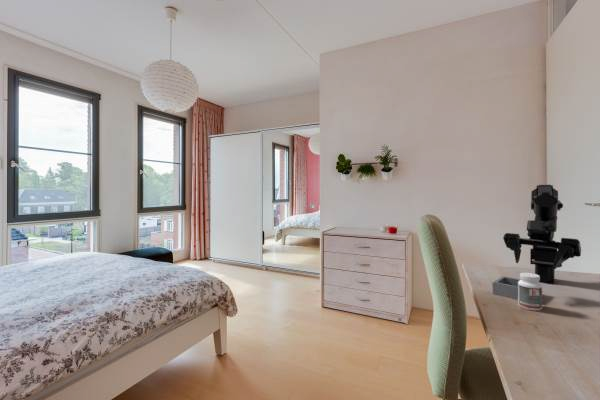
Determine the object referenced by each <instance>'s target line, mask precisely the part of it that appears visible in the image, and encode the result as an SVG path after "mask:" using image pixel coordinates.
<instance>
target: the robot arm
mask: <svg viewBox="0 0 600 400" xmlns="http://www.w3.org/2000/svg"><path fill="white" fill-rule="evenodd" d="M530 196H531V197H530V199H531V200H530V210H531V211H533V214H534V220H532V219H529V220H527V223H526V231H527V236H528V237H529V238H525V237H521V236H520V234H519V233H513V232H512V233H511V232H506V233H505V234H504V235H503V241H504V244H505V247H506V248H508V249H510V250H511V251H513V253H514V254H513V255H514V259H515V263H516V264H519V261H520V258H521V254H522V245H526V246H532V248H530V250H529V253H530V257H529V259H530V262H529V263H530V265H534V274H537V275H539V276H540V280H539V283H541V282H542V283H546V284H551V285H555V284H556V282H558V278H556V277H555V270H556V269H557V268H562V267H563V263H564V262H566V261H567V260H568V259H574V258H575V257H577V258H579V257H581V254H582V246H581V245H582V244H581V242H580V240H579V239H578V238H570V237H569V238H568V237H561V239H560V241H555V240H554V237H555V232H557V230H558V229H557V228H558V227H557V226H558V225H557V224H558V222H557V221H558V216H557V215H558V211H559V212H560V211H561V210H562V208H564V204H563V203H562V202H561V200H559V191H558V190H557V189H555V188H554V185H553V184H552V185H551V184H538V185H536V187H535V188H534V189H533V190H532V191H531V194H530Z"/></svg>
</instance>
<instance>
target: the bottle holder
mask: <svg viewBox="0 0 600 400" xmlns="http://www.w3.org/2000/svg"><path fill="white" fill-rule="evenodd" d="M520 280H521V278H514V277H509V276H505V275H502V276H500V277H498V278H497V279H495V280H493V282H492V294H493V295H496V296H501V297H504V298H509V297H510V298H509V299H513V298H514V300H517V299H518V281H520Z"/></svg>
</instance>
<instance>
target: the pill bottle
mask: <svg viewBox="0 0 600 400" xmlns="http://www.w3.org/2000/svg"><path fill="white" fill-rule="evenodd" d="M519 279H521V280H520V281H518V300H517V305H518V306H519V307H521V308H522V309H525V310H528V311H529V310H530V311H541V310H542V309H543V285H542V283H541V282H540V281H539V280H540V276H539V275H537V274H535V273H531V272H520V273H519Z"/></svg>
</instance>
